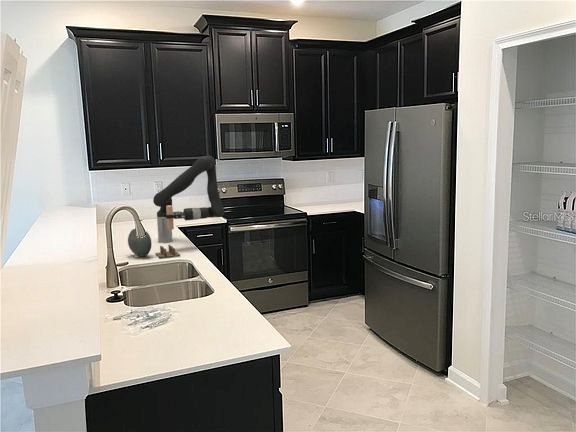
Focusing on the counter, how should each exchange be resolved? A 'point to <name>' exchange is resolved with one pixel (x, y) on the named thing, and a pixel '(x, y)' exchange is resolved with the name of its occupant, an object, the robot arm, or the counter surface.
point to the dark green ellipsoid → (139, 244)
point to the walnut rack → (168, 254)
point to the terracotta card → (170, 221)
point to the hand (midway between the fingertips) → (165, 216)
